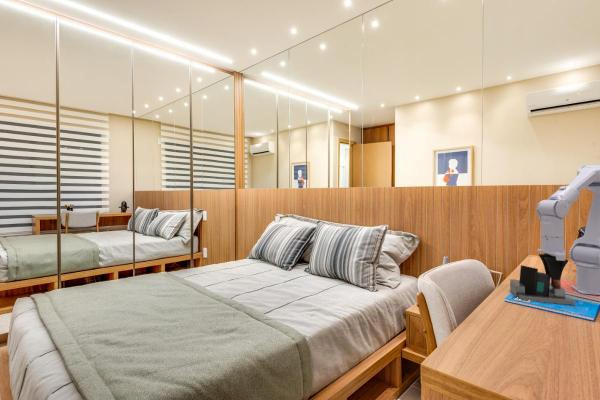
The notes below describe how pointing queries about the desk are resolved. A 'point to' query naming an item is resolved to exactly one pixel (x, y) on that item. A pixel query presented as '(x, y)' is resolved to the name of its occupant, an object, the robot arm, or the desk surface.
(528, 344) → the desk surface
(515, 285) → the vise body
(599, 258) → the robot arm
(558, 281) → the jaw slide
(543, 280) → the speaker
